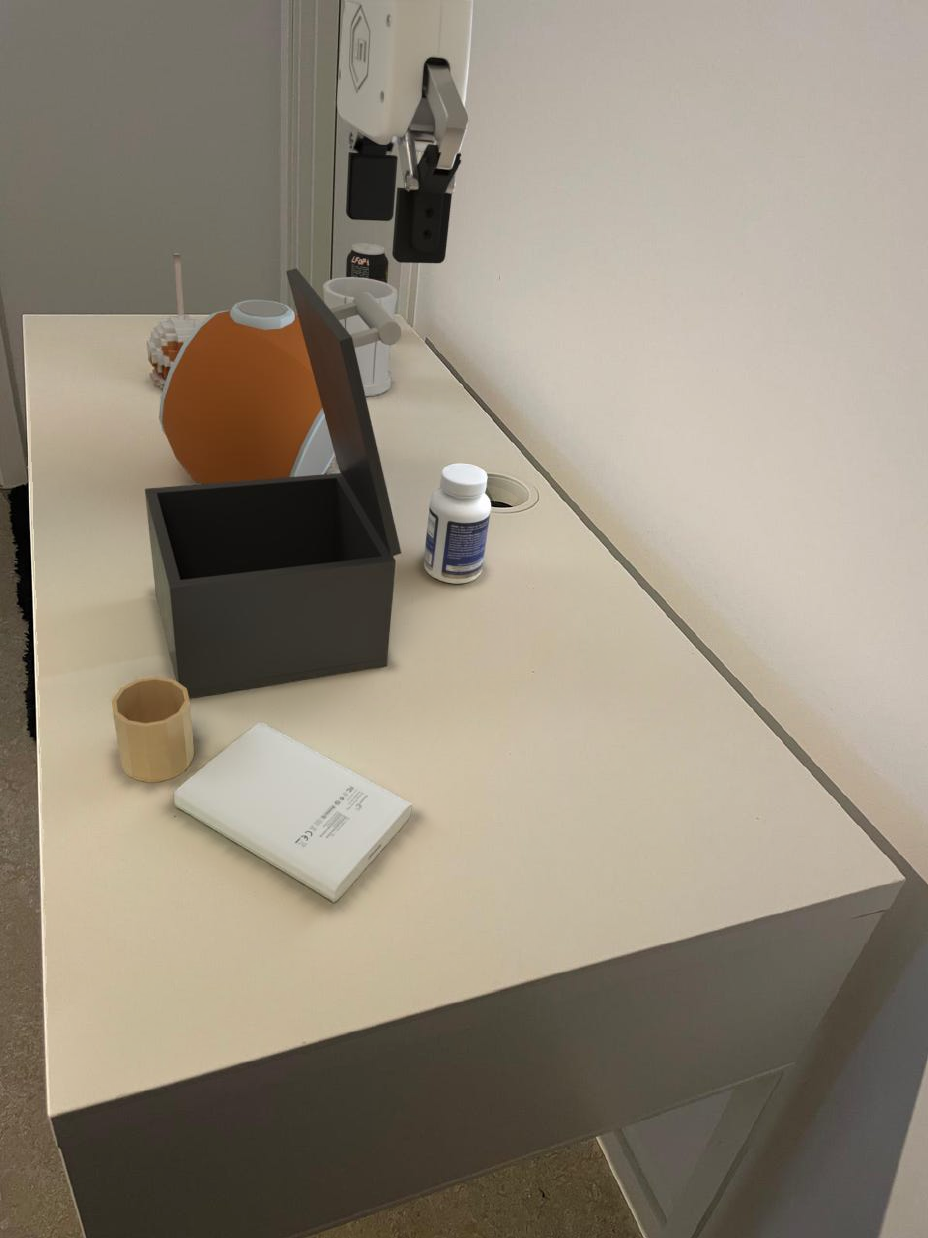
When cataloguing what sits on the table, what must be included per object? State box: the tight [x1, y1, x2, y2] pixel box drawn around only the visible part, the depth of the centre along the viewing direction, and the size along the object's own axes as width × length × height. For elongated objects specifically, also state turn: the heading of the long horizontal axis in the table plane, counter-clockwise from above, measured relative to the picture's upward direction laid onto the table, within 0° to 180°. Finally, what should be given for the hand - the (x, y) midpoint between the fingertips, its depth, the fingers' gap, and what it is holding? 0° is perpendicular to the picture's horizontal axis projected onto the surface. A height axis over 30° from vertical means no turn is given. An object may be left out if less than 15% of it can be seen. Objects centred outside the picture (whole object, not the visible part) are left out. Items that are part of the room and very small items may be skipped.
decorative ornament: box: [146, 252, 202, 389], centre depth 104 cm, size 8×8×15 cm
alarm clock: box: [158, 299, 336, 484], centre depth 87 cm, size 19×18×17 cm
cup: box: [322, 276, 398, 398], centre depth 110 cm, size 10×9×12 cm
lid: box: [285, 268, 403, 557], centre depth 64 cm, size 16×14×5 cm
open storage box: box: [144, 472, 397, 700], centre depth 69 cm, size 16×14×10 cm
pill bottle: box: [423, 462, 492, 585], centre depth 80 cm, size 5×5×10 cm
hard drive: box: [173, 721, 413, 903], centre depth 57 cm, size 2×8×12 cm
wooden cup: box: [111, 675, 195, 783], centre depth 58 cm, size 5×5×5 cm
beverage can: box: [345, 242, 390, 284], centre depth 126 cm, size 6×6×12 cm
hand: (392, 238), depth 58 cm, fingers open, 9 cm apart
